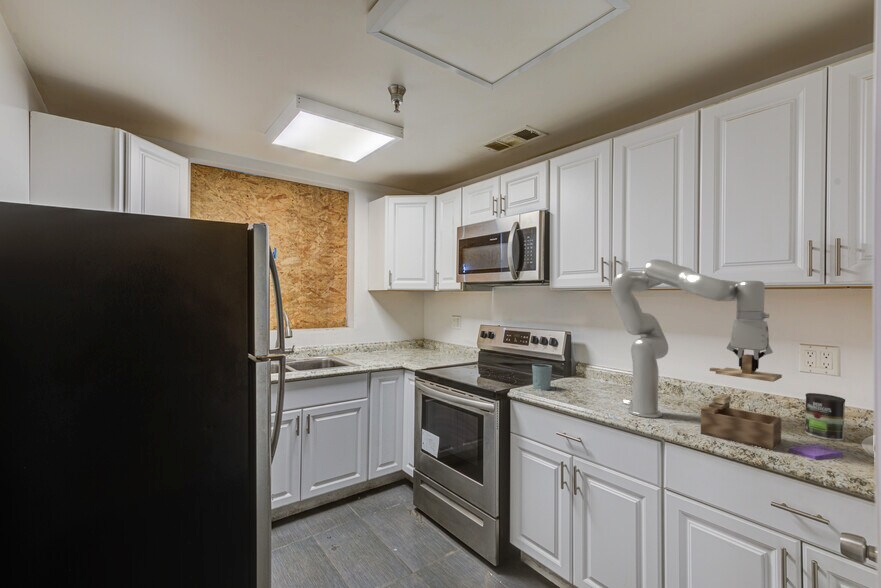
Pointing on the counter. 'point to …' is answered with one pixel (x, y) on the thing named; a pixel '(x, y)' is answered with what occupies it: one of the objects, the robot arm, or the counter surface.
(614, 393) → the counter surface
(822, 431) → the coffee can
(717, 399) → the light brown wooden block
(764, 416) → the toolbox
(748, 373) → the lid
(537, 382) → the drinking glass
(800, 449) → the sponges
